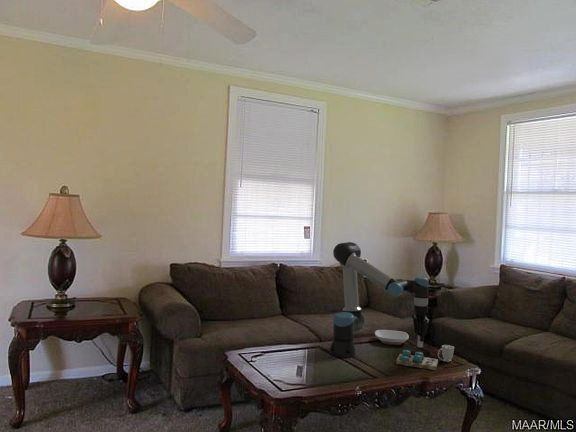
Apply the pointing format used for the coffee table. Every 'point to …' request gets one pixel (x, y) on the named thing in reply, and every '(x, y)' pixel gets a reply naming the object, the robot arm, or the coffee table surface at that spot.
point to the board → (426, 363)
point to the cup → (447, 352)
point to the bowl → (391, 337)
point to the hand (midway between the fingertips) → (420, 346)
